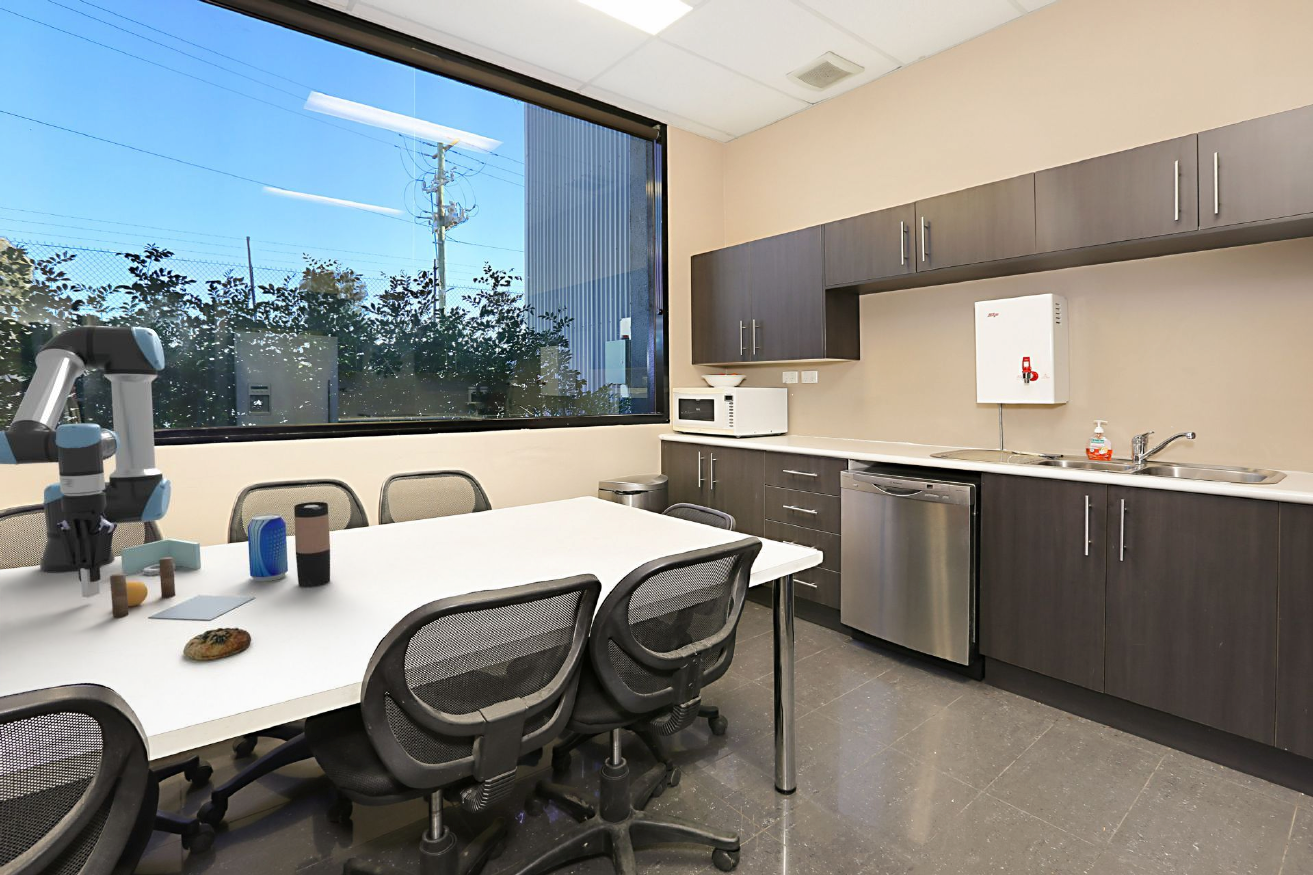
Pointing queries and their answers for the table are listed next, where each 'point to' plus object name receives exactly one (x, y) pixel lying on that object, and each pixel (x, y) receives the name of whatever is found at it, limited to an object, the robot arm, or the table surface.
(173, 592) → the post
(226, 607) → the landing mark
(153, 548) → the l-shaped corner panel
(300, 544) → the travel mug
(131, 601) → the ball
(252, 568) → the beer can
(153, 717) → the table surface
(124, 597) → the post
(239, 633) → the bread roll
